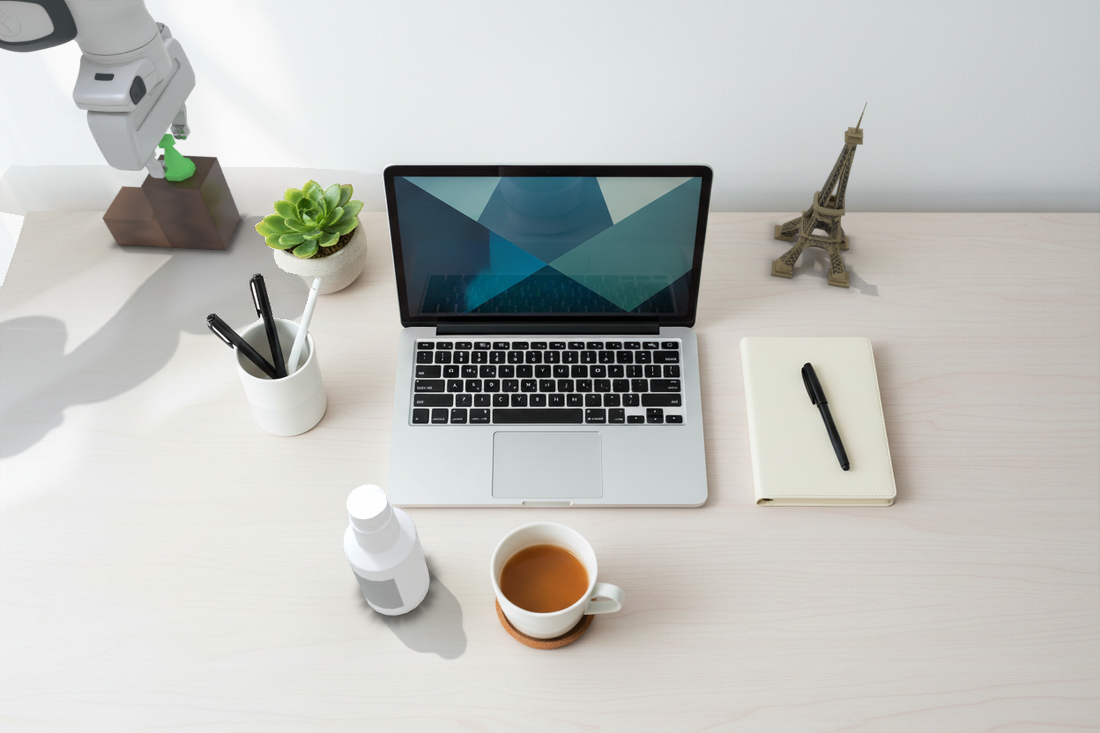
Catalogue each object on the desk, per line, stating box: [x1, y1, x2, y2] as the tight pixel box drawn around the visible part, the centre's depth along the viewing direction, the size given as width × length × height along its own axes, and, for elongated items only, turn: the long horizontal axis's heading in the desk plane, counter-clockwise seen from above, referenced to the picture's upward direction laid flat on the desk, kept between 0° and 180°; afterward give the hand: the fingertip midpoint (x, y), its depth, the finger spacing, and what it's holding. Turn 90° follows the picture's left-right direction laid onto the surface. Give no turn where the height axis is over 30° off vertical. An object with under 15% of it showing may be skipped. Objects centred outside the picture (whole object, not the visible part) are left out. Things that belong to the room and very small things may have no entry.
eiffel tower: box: [770, 101, 868, 289], centre depth 102 cm, size 11×11×25 cm
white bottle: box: [342, 484, 431, 616], centre depth 74 cm, size 7×7×18 cm
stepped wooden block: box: [102, 154, 242, 251], centre depth 110 cm, size 16×7×11 cm, turn 86°
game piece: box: [157, 133, 196, 181], centre depth 103 cm, size 4×4×6 cm
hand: (172, 155), depth 104 cm, fingers open, 7 cm apart
